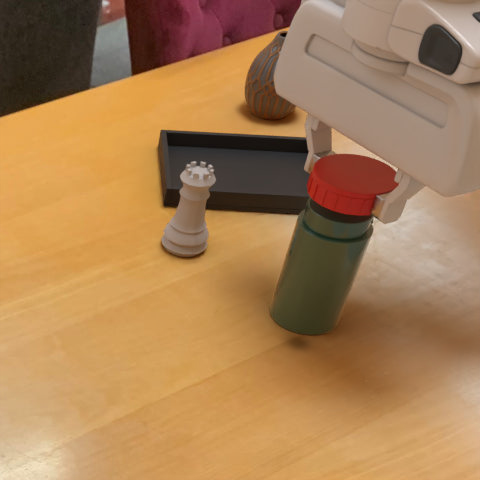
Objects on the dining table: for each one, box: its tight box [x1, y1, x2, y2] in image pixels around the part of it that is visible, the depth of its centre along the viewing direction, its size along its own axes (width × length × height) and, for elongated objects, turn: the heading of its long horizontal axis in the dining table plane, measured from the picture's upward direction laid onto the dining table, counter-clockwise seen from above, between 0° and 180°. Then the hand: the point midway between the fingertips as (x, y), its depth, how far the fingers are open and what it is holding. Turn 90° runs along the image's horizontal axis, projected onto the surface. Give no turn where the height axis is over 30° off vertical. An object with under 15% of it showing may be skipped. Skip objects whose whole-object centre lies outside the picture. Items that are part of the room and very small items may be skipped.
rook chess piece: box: [160, 161, 216, 258], centre depth 84 cm, size 4×4×8 cm
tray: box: [157, 129, 310, 215], centre depth 95 cm, size 17×13×2 cm
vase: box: [244, 30, 297, 120], centre depth 104 cm, size 7×7×9 cm
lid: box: [307, 153, 400, 216], centre depth 70 cm, size 7×7×2 cm
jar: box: [269, 197, 375, 336], centre depth 76 cm, size 6×6×10 cm
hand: (349, 195), depth 71 cm, fingers closed on lid, 6 cm apart
